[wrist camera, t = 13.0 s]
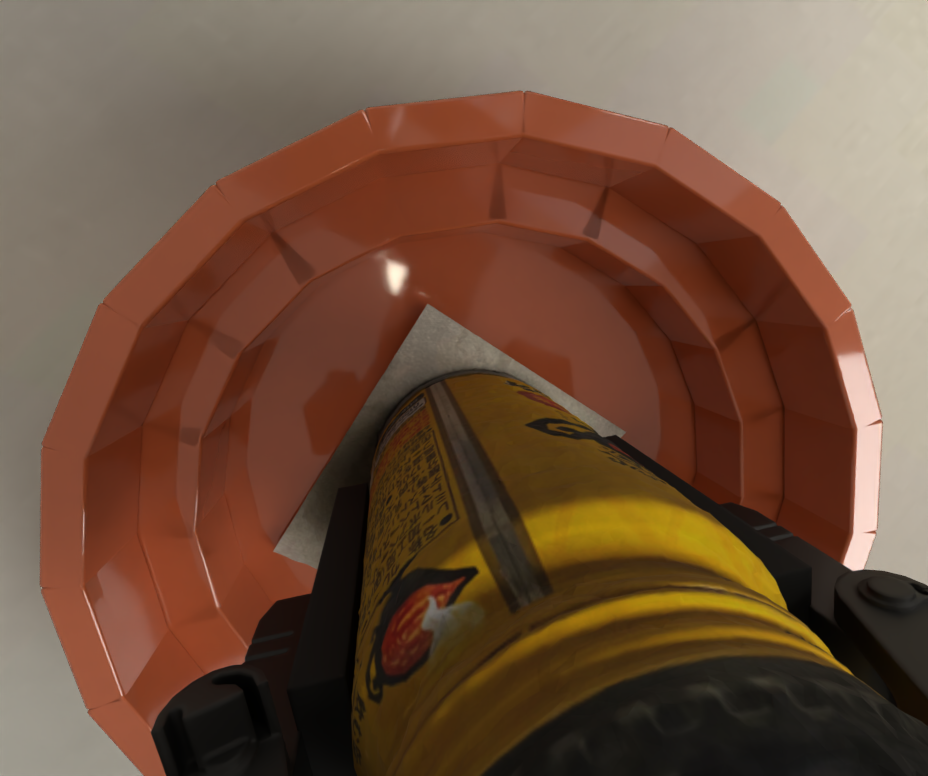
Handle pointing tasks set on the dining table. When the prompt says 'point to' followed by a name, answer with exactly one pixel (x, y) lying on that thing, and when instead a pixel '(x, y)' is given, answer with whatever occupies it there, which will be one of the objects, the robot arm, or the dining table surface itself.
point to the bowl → (381, 335)
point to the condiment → (565, 599)
